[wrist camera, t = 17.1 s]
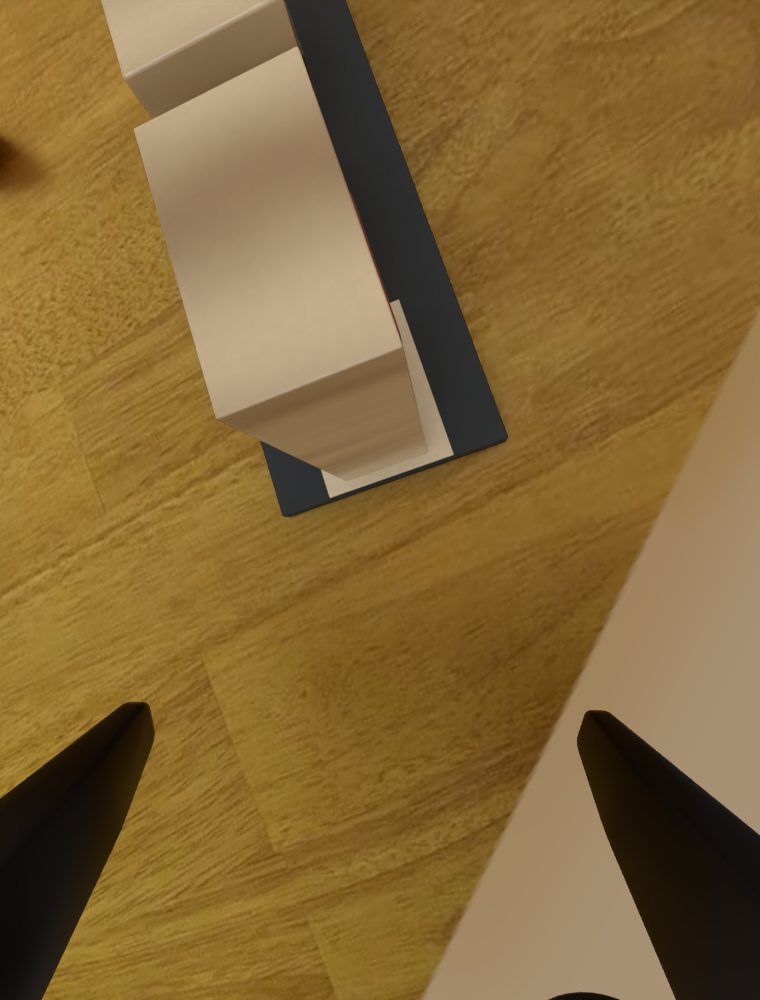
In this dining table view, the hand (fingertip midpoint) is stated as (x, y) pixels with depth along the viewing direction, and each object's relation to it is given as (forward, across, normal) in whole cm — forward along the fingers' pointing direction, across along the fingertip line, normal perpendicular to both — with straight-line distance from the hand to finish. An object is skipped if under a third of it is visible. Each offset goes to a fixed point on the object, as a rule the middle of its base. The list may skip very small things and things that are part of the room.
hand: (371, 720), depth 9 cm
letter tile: (+14, 0, -5) cm, 14 cm away
